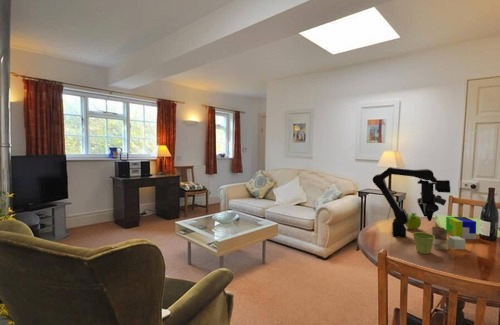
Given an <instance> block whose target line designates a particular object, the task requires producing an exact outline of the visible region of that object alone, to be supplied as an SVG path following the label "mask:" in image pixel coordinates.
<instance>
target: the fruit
mask: <svg viewBox="0 0 500 325" xmlns="http://www.w3.org/2000/svg"><path fill="white" fill-rule="evenodd" d="M421 224H422V220H421V218H420V216H418V215H417V213H416V212H415V213H414V212H411V214H408V221H407V223H406V224H404V226H405V227H406V228H408V229H409V230H413V231H414V230H417V229H419V228H420V227H421Z"/></svg>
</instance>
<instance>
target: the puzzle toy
mask: <svg viewBox="0 0 500 325" xmlns="http://www.w3.org/2000/svg"><path fill="white" fill-rule="evenodd" d="M445 221H446V222H445V223H446V224H445V225H446V226H445V228H446V230H447V235H450V236H459V237H461V238H463V239H465V240H476V239H477V221H475V220H473V219H471V218H468V217H466V216H446V219H445Z"/></svg>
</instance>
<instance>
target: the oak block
mask: <svg viewBox="0 0 500 325" xmlns="http://www.w3.org/2000/svg"><path fill="white" fill-rule="evenodd" d="M432 247H433V248H434V249H435V250H447V251H448V250H449V246H448V239H447V240H439V239H435V238H434V240H433V243H432Z"/></svg>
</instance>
